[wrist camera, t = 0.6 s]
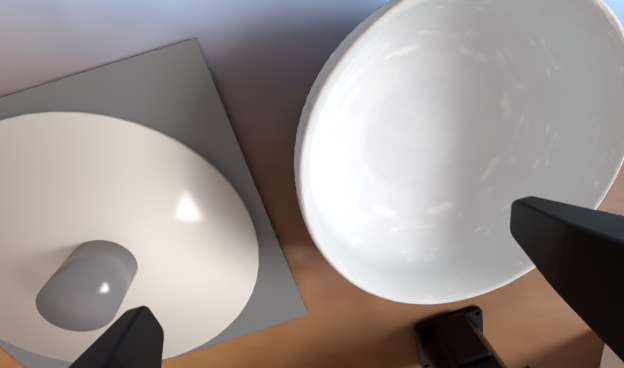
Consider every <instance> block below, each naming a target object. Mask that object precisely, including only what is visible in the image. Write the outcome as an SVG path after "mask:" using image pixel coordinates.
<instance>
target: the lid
mask: <svg viewBox="0 0 624 368" xmlns="http://www.w3.org/2000/svg"><path fill="white" fill-rule="evenodd" d="M258 267H259V244H258V238H257V233H256V228H255V225H254V222H253V219H252V217H251V214H250V212H249V210H248V208H247V206H246V204H245V202H244V200H243V198H242V197H241V195H240V194H239V193H238V191H237V190H236V188H235V187H234V186H233V184H232V183H231V182H230V181H229V180H228V179H227V177H226V176H225V175H224V174H223V173H222V172H221V171H220V170H219V169H218V168H217V167H216V166H215V165H213V164H212V163H211V162H210V161H209V160H207V159H206V158H205V157H204V156H203V155H201V154H200V153H199V152H197V151H196V150H194V149H193V148H191V147H189V146H188V145H186V144H185V143H183V142H182V141H180V140H178V139H176V138H174V137H172V136H170V135H168V134H166V133H164V132H162V131H160V130H158V129H155V128H152V127H150V126H147V125H144V124H142V123H139V122H136V121H133V120H129V119H125V118H121V117H117V116H113V115H109V114H102V113H95V112H88V111H70V110H53V111H43V112H33V113H27V114H23V115H18V116H14V117H10V118H6V119H3V120H0V339H1V340H3V341H5V342H7V343H9V344H11V345H14V346H16V347H19V348H21V349H24V350H26V351H29V352H32V353H36V354H39V355H42V356H45V357H49V358H53V359H58V360H62V361H67V362H74V361H75V360H76V359H77V358H78V357H79V356H80V355H81V354H82V353H83V352H84V351H86V350H87V349H88V348H89V347H90V346H91V345H92V344H93V343H94V342H95V341H96V340H97V339H98V338H99V337H100V336H101V335H102V334H103V333H104V332H105V331H106V330H107V329H108V328H109V327H110V326H111V325H112V324H113V323H114V322H115V321H116V320H117V319H118V318H119V317H120V316H121V315H122V314H123V313H124V312H125V311H127V310H129V309H132V308H135V307H139V306H147V307H149V309H150V310H151V311H152V313H153V314H154V316H155V317H156V319H157V320H158V322H159V323H160V325H161V326H162V328H163V331H164V344H163V353H162V360H163V359H167V358H170V357H174V356H177V355H180V354H182V353H185V352H188V351H190V350H192V349H194V348H196V347H198V346H201V345H203V344H204V343H206V342H208V341H209V340H211V339H212V338H214V337H216V336H217V335H218V334H219V333H221V332H222V331H223V330H224V329H226V328H227V327H228V326H229V325H230V324H231V323H232V322H233V321H234V320H235V319H236V318H237V317H238V315H239V314H240V313H241V311H242V310H243V308H244V307H245V306H246V304H247V302H248V300H249V298H250V296H251V294H252V292H253V289H254V286H255V283H256V280H257V273H258Z"/></svg>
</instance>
